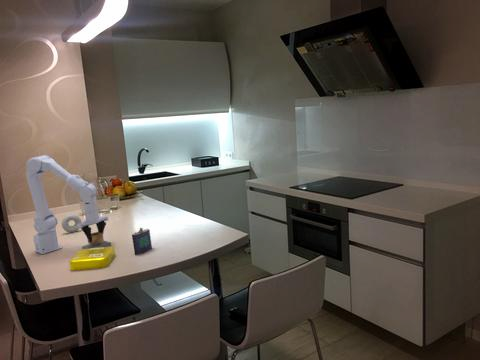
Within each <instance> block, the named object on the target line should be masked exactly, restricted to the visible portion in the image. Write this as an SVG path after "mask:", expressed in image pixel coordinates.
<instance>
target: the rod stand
mask: <svg viewBox="0 0 480 360" xmlns="http://www.w3.org/2000/svg"><path fill="white" fill-rule="evenodd" d="M111 243H112V242H110V241H107V240H104V242H101V243H98V244H95V245H93V244H90V243H88V244H86V245H85V244H84V245H82V246H81V250H82V249H88V248H100V247H111V246H112V244H111Z"/></svg>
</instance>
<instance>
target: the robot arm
mask: <svg viewBox="0 0 480 360" xmlns="http://www.w3.org/2000/svg"><path fill="white" fill-rule="evenodd" d="M25 166H26V172H25V176H26V177H25V178H26V180H27V185H28V188H29V191H30V195H31V198H32V202H33V205H34V208H35V212H36V213H35V215H34V217H33V221H34V223H33V228H34V230H35V232H37V233H36V234H34V235H33V242H34V249H35V250H34V252H36V253H38V254H41V255H44V254H48V253H51V252H53V251H58V250H60V249H63V246H60V245H59V242H58V235H57V230H56V228H57V225H58V218H57V217H56V216H55V213H54V212H53V211H52V210H51V209H50V208H49V205H48V201H47V197H46V193H45V190H44V187H43V182H42V179H41V177H42V175H43V174H44V173H45V172H51V173H53V174H54V175H56V176H57V177H59V178H62V179H63V180H65V181H66V185H67V186H69V187H70V188H71V189H72V190H74V191H76V192H77V193H78V194H79V197H80V198H81V200H82V204H83V211H84V216H85V221H82V223H79V224H77V228H78V229H79V230H81V231H82V232H83V233H84V235H85V236H86V238H87V239H86V240H87V242H88V241H90V242H91V241H92V237H91V233H92V227H90V226H93V225H96V229H97V232H100V233H103V234H104V232H105V227H106V225H107V222H106V221H109V216H107V215H103V216H100V215H99V209H98V202H97V201H98V200H97V196H96V195H97V193H98V189H97V186H96V185H95V184H94V183H89V182H88V181H86V180H84V179H83V178H81V176H80V175H78V174H71V173H70V172H69V171H67V170H66V169H65V168H64V167H62V166H61V165H60V164H59V163H57V162H56V161H55V159H53V158H51V157H50V156H49V155H47V154H43V155H40V156H35V157H31V158H29V159H28V160H27V162H26V163H25Z"/></svg>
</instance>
